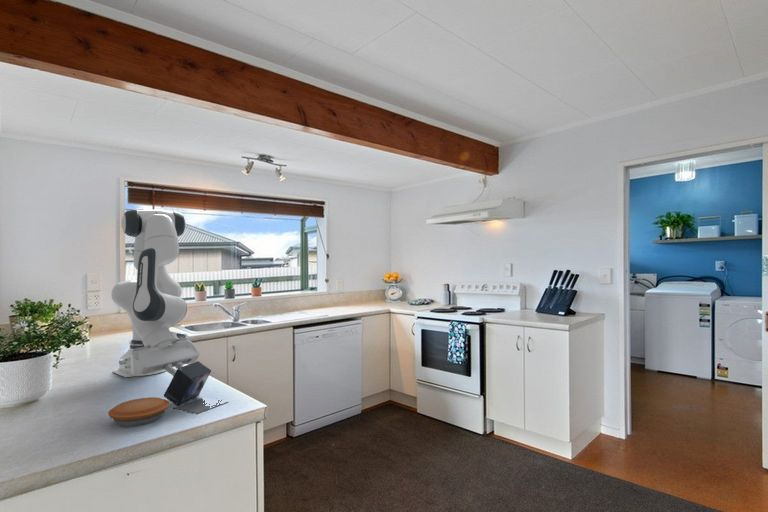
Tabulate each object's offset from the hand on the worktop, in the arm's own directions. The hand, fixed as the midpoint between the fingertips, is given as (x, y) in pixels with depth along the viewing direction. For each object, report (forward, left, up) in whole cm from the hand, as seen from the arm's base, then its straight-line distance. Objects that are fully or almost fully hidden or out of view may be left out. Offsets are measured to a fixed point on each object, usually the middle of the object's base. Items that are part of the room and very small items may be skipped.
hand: (179, 375), depth 134 cm
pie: (+4, -16, -9) cm, 19 cm away
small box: (+1, 0, -7) cm, 7 cm away
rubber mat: (+10, 0, -8) cm, 13 cm away
